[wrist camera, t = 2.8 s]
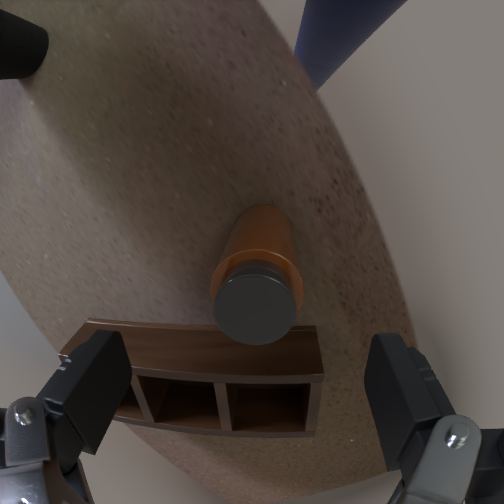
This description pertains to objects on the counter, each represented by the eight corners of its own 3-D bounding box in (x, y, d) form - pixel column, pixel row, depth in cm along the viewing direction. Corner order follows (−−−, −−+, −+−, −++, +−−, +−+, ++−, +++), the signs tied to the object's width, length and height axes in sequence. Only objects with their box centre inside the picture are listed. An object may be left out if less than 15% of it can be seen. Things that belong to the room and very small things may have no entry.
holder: (88, 317, 25) (57, 354, 20) (315, 325, 23) (324, 374, 18) (109, 375, 27) (87, 413, 22) (309, 388, 26) (314, 436, 21)
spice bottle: (232, 205, 20) (196, 264, 11) (293, 203, 20) (309, 263, 11) (235, 261, 22) (208, 352, 12) (293, 260, 22) (305, 352, 12)
